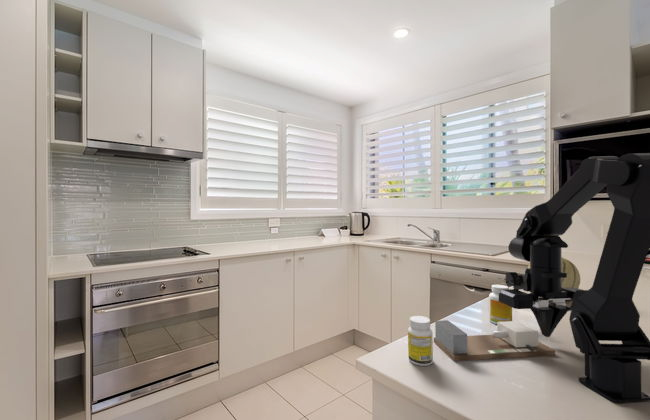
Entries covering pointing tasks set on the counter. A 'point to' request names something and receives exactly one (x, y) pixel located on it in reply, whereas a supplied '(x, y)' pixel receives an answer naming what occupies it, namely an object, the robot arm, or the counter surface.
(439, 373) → the counter surface
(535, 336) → the gauge carriage
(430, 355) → the supplement bottle
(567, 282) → the cantaloupe
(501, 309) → the supplement bottle
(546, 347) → the base
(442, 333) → the gray concrete brick
